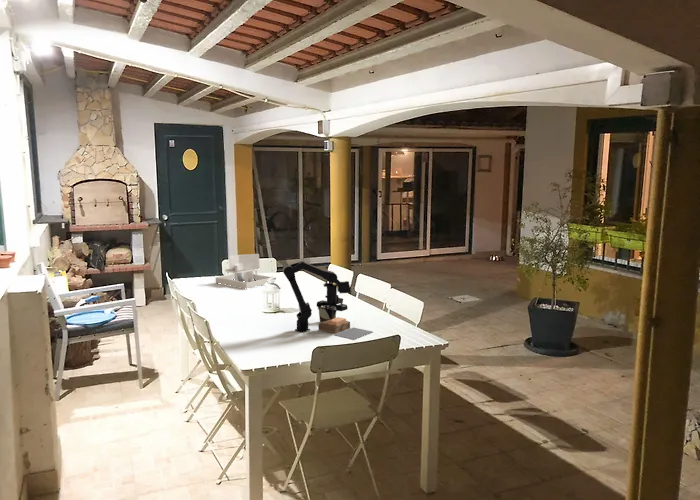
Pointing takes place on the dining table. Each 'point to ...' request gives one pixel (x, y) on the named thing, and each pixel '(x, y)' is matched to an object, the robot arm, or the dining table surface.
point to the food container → (324, 314)
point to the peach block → (337, 321)
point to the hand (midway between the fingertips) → (331, 320)
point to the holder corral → (228, 281)
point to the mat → (353, 333)
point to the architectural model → (244, 266)
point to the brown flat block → (333, 327)
